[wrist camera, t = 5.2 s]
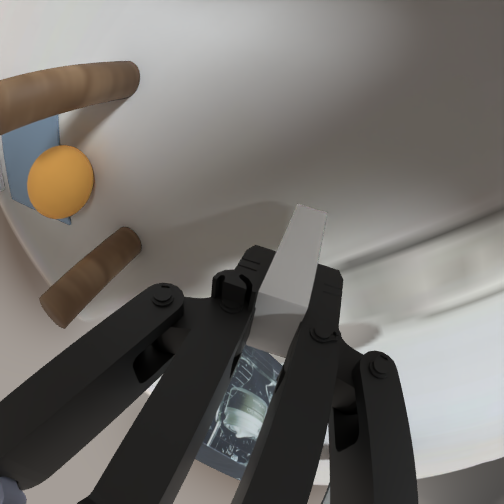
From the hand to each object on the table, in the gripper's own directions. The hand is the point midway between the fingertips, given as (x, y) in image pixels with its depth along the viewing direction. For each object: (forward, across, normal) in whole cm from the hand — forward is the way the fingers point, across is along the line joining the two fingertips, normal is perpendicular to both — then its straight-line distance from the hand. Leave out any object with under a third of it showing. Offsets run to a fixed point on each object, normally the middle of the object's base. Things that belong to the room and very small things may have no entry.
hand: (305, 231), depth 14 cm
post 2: (+2, -13, -6) cm, 15 cm away
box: (+2, 0, -17) cm, 17 cm away
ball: (-1, -18, -1) cm, 18 cm away
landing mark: (+2, -28, 0) cm, 28 cm away
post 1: (+2, -13, +6) cm, 15 cm away
